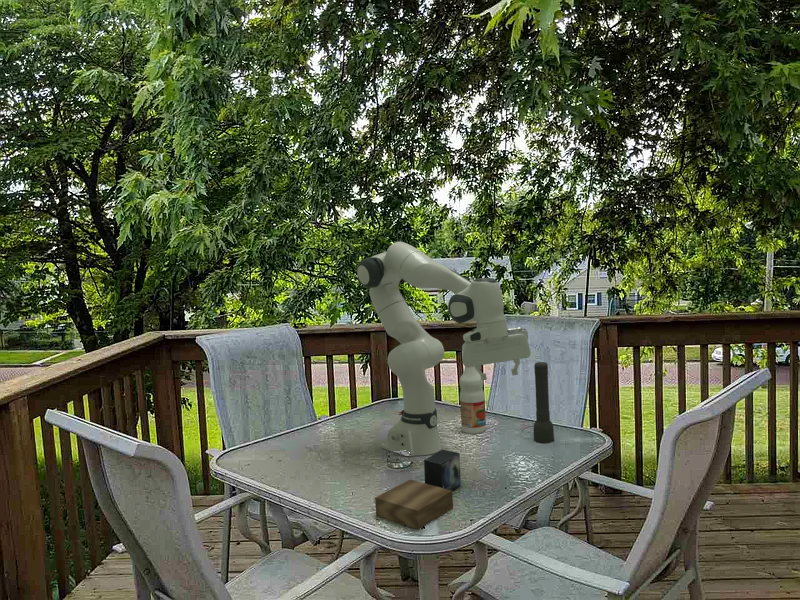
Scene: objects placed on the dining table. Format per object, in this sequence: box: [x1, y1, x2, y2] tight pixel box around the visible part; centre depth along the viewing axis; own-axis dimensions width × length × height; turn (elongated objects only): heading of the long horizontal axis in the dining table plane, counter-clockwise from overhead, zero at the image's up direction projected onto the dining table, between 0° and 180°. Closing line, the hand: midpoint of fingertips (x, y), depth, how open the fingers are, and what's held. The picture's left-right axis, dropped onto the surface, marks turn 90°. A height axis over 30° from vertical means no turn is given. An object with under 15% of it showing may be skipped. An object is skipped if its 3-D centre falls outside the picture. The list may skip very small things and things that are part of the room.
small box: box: [423, 449, 462, 492], centre depth 182 cm, size 11×6×10 cm, turn 143°
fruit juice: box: [459, 366, 487, 435], centre depth 236 cm, size 9×9×28 cm
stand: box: [374, 479, 454, 530], centre depth 169 cm, size 15×15×5 cm
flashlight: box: [533, 361, 555, 444], centre depth 220 cm, size 7×28×7 cm
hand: (499, 377), depth 184 cm, fingers open, 8 cm apart
